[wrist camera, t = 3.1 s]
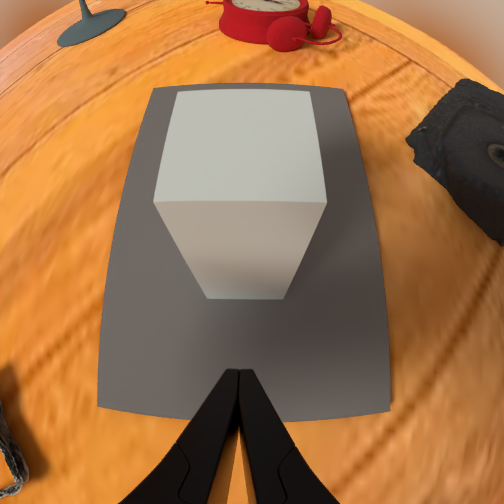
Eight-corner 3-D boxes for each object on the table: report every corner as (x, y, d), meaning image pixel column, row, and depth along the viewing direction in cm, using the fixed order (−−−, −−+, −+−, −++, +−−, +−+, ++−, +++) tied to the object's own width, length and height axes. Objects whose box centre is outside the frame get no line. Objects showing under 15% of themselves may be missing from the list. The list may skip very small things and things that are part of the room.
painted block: (283, 299, 16) (326, 202, 7) (207, 298, 16) (153, 201, 7) (281, 230, 18) (309, 91, 8) (211, 229, 18) (177, 91, 8)
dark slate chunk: (543, 155, 23) (562, 135, 19) (518, 281, 18) (557, 261, 13) (457, 76, 27) (471, 50, 23) (389, 154, 21) (412, 112, 17)
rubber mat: (385, 409, 14) (390, 411, 14) (102, 405, 14) (97, 406, 14) (341, 94, 23) (343, 89, 23) (155, 93, 23) (153, 88, 22)
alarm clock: (256, -19, 28) (361, -9, 21) (263, 19, 33) (361, 40, 26) (191, 1, 25) (299, 5, 18) (203, 44, 30) (304, 67, 23)
